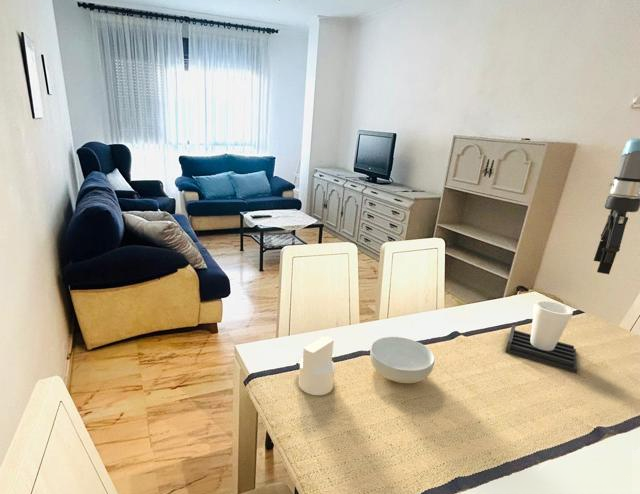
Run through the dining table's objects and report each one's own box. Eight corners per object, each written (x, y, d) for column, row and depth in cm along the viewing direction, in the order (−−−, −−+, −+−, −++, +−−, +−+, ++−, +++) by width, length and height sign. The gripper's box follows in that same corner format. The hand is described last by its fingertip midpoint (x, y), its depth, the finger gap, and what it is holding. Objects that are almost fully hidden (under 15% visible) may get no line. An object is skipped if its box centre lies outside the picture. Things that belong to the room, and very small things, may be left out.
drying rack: (574, 352, 120) (578, 341, 119) (576, 373, 110) (580, 361, 108) (509, 334, 130) (512, 324, 129) (505, 352, 119) (508, 341, 118)
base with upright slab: (319, 400, 94) (322, 358, 90) (291, 384, 100) (293, 343, 96) (339, 384, 101) (344, 344, 96) (312, 369, 106) (315, 331, 102)
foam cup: (529, 334, 125) (540, 298, 121) (563, 345, 119) (575, 307, 115) (520, 344, 119) (531, 306, 114) (556, 357, 113) (569, 317, 108)
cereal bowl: (381, 350, 117) (384, 330, 115) (437, 370, 108) (442, 348, 106) (357, 377, 104) (360, 354, 101) (419, 402, 95) (424, 378, 93)
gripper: (604, 190, 120) (583, 254, 128) (613, 199, 101) (587, 275, 108) (635, 193, 116) (612, 259, 124) (651, 203, 97) (622, 281, 104)
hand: (600, 267), depth 116 cm, fingers open, 13 cm apart
